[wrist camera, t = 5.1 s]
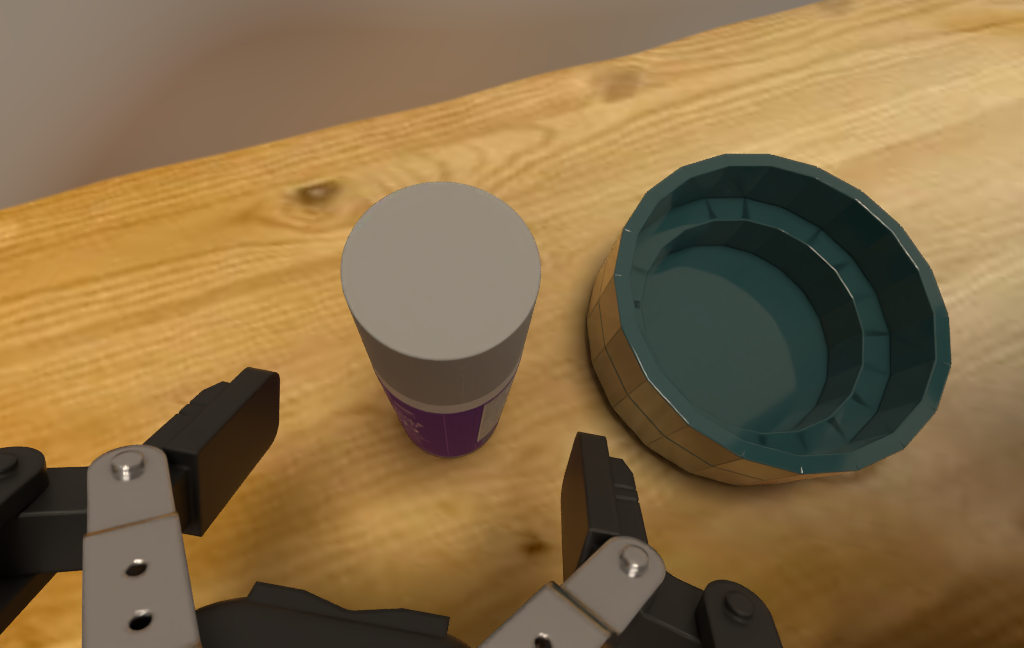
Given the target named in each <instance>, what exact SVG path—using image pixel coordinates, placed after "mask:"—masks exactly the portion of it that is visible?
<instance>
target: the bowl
mask: <svg viewBox="0 0 1024 648" xmlns="http://www.w3.org/2000/svg"><path fill="white" fill-rule="evenodd" d="M587 327H588V335H589V343H590V351H591V359H592V363H593V364H592V365H593V367H594V370H595V372H596V374H597V376H598V378H599V381H600V383H601V385H602V387H603V389H604V391H605V394H606V396H607V398H608V400H609V402H610V404H611V406H612V407H613V409H614V410H615V411H616V412H617V414H618V415H619V416H620V417H621V418H622V419H623V420H624V422H625V423H626V424H627V425H628V426H629V427H630V428H631V429H632V431H633V432H634V433H635V434H636V435H637V436H638V437H639V439H640V440H641V441H642V442H643V443H644V444H645V445H646V446H647V447H649V448H650V449H652V450H653V451H655V452H657V453H658V454H660V455H661V456H663V457H664V458H666V459H668V460H669V461H671V462H672V463H674V464H676V465H677V466H679V467H680V468H682V469H684V470H685V471H687V472H690V473H691V474H695V475H699V476H703V477H706V478H710V479H714V480H718V481H721V482H725V483H729V484H732V485H739V486H742V485H757V484H772V483H784V482H790V481H797V480H803V479H810V478H816V477H823V476H829V475H835V474H842V473H848V472H854V471H859V470H861V469H863V468H865V467H867V466H870V465H872V464H874V463H876V462H878V461H880V460H882V459H884V458H886V457H889V456H891V455H893V454H895V453H897V452H899V451H901V450H903V449H904V448H905V447H906V446H907V445H908V444H909V443H910V442H911V440H912V439H913V438H914V437H915V436H916V435H917V434H918V432H919V431H920V430H921V429H922V428H923V427H924V425H925V424H926V423H927V422H928V421H929V420H930V419H931V417H932V416H933V415H934V414H935V413H936V411H937V409H938V406H939V403H940V400H941V396H942V393H943V390H944V387H945V384H946V381H947V378H948V374H949V371H950V368H951V346H950V327H949V317H948V312H947V309H946V307H945V304H944V301H943V298H942V296H941V293H940V290H939V288H938V285H937V282H936V279H935V277H934V274H933V271H932V269H931V268H930V266H929V264H928V263H927V262H926V260H925V259H924V257H923V256H922V254H921V253H920V252H919V250H918V249H917V247H916V246H915V244H914V243H913V242H912V240H911V239H910V237H909V236H908V235H907V233H906V232H905V230H904V229H903V227H901V226H900V224H899V223H898V222H897V221H896V220H894V219H893V218H892V217H891V216H890V215H889V214H888V213H886V212H885V211H884V210H883V209H882V208H881V207H880V206H879V205H877V204H876V203H875V202H874V201H873V200H872V199H871V198H869V197H868V196H867V195H866V194H865V193H864V192H861V190H859V189H857V188H856V187H854V186H852V185H850V184H848V183H846V182H845V181H843V180H841V179H839V178H837V177H835V176H833V175H832V174H830V173H828V172H826V171H824V170H822V169H821V168H817V167H816V166H813V165H809V164H805V163H802V162H798V161H794V160H790V159H787V158H783V157H779V156H775V155H770V154H722V155H719V156H716V157H712V158H709V159H706V160H703V161H699V162H696V163H693V164H689V165H686V166H683V167H680V168H679V169H678V170H676V171H675V172H673V173H672V174H671V175H669V176H668V177H667V178H665V179H664V180H662V181H661V182H660V183H658V184H657V185H656V186H654V187H653V188H651V189H650V190H649V191H647V193H646V194H645V195H644V197H643V198H642V200H641V201H640V203H639V204H638V206H637V208H636V209H635V211H634V212H633V214H632V215H631V217H630V218H629V220H628V222H627V223H626V225H625V226H624V228H623V230H622V231H621V233H620V235H619V237H618V239H617V241H616V243H615V244H614V246H613V248H612V250H611V252H610V254H609V256H608V257H607V259H606V261H605V263H604V265H603V266H602V268H601V270H600V272H599V274H598V276H597V278H596V280H595V283H594V287H593V292H592V297H591V301H590V306H589V311H588V315H587Z"/></svg>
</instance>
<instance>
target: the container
mask: <svg viewBox="0 0 1024 648" xmlns="http://www.w3.org/2000/svg"><path fill="white" fill-rule="evenodd" d="M540 279H541V264H540V257H539V252H538V248H537V245H536V242H535V240H534V238H533V235H532V234H531V232H530V230H529V228H528V227H527V225H526V224H525V222H524V221H523V220H522V218H521V217H520V216H519V215H518V214H517V213H516V212H515V211H514V210H513V209H512V208H511V207H510V206H509V205H507V204H506V203H505V202H503V201H502V200H500V199H499V198H497V197H496V196H494V195H492V194H490V193H488V192H486V191H484V190H481V189H479V188H476V187H473V186H469V185H465V184H460V183H453V182H428V183H421V184H416V185H412V186H409V187H406V188H402V189H400V190H398V191H395V192H393V193H391V194H389V195H388V196H386V197H384V198H382V199H381V200H380V201H378V202H377V203H375V204H374V205H373V206H372V207H371V208H369V209H368V210H367V211H366V212H365V213H364V214H363V216H362V217H361V218H360V219H359V221H358V222H357V223H356V225H355V226H354V228H353V229H352V231H351V233H350V235H349V237H348V239H347V241H346V244H345V247H344V250H343V254H342V260H341V283H342V288H343V292H344V296H345V299H346V301H347V304H348V307H349V309H350V311H351V314H352V316H353V319H354V321H355V324H356V326H357V329H358V331H359V334H360V336H361V338H362V341H363V343H364V346H365V348H366V351H367V353H368V356H369V358H370V361H371V363H372V366H373V369H374V371H375V373H376V375H377V377H378V379H379V381H380V383H381V385H382V387H383V389H384V391H385V392H386V394H387V396H388V398H389V400H390V402H391V404H392V406H393V408H394V410H395V412H396V414H397V416H398V418H399V420H400V421H401V423H402V425H403V427H404V429H405V431H406V433H407V434H408V436H409V437H410V439H411V440H412V441H413V442H414V443H415V444H416V445H417V446H418V447H419V448H420V449H422V450H423V451H425V452H427V453H429V454H431V455H434V456H438V457H443V458H456V457H461V456H465V455H467V454H470V453H472V452H474V451H476V450H477V449H479V448H480V447H481V446H483V445H484V444H485V443H486V442H487V441H488V439H489V438H490V437H491V435H492V434H493V432H494V430H495V428H496V426H497V424H498V421H499V418H500V415H501V413H502V410H503V407H504V404H505V402H506V399H507V396H508V393H509V391H510V388H511V385H512V382H513V380H514V377H515V374H516V371H517V369H518V366H519V363H520V360H521V356H522V351H523V348H524V344H525V340H526V336H527V333H528V329H529V325H530V321H531V318H532V314H533V310H534V306H535V303H536V299H537V295H538V291H539V286H540Z"/></svg>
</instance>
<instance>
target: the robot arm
mask: <svg viewBox="0 0 1024 648" xmlns="http://www.w3.org/2000/svg"><path fill="white" fill-rule="evenodd" d="M279 400H280V377H279V374H278V373H277V372H272V371H267V370H262V369H256V368H251V367H247V368H245V369H244V370H243V371H242V372H241V373H240V374H239V375H238V376H237V377H236V378H235V379H234V380H233V381H232V382H231V383H228V382H223V381H222V382H220V383H218V384H216V385H213V386H211V387H209V388H207V389H204V390H203V391H202V392H200V393H199V394H198V395H197V396H196V397H195V398H194V399H193V400H191V401H190V404H187V405H186V406H185V407H184V408H183V409H181V410H180V412H179V414H176V415H175V416H174V417H172V418H171V419H170V420H169V421H168V422H167V423H166V424H165V425H164V426H162V427H161V428H160V429H159V430H158V431H157V432H156V433H155V434H153V435H152V436H151V437H150V438H149V439H148V440H147V441H146V442H144V443H143V444H142V445H130V446H124V447H120V448H116V449H113V450H111V451H108V452H106V453H104V454H102V455H101V456H99V457H98V458H96V459H95V460H94V461H93V462H92V463H91V465H90V466H88V467H63V468H47V467H46V462H45V458H44V455H43V454H42V453H41V452H40V451H38V450H36V449H33V448H29V447H5V448H0V634H1V633H2V632H3V631H4V630H5V629H6V628H7V627H8V626H9V625H10V623H11V622H12V621H13V620H14V619H15V618H16V617H17V616H18V615H19V614H20V613H21V611H22V610H23V609H24V608H25V607H26V606H27V605H28V604H29V603H30V602H31V600H32V599H33V598H34V597H35V596H36V595H37V594H38V593H39V592H40V591H41V589H42V588H43V587H44V586H45V585H46V584H47V583H48V582H49V581H50V580H51V579H52V577H53V576H54V575H55V574H56V573H57V572H67V571H79V570H83V582H82V648H471V647H470V646H468V645H467V644H466V643H464V642H463V641H461V640H460V639H458V638H456V637H454V636H452V635H450V634H448V633H447V631H448V626H449V620H450V617H447V616H442V615H436V614H431V613H425V612H420V611H415V610H409V609H404V608H399V609H378V610H358V611H351V610H347V609H344V608H342V607H340V606H338V605H335V604H333V603H331V602H329V601H327V600H325V599H322V598H320V597H318V596H316V595H314V594H312V593H309V592H307V591H305V590H301V589H295V588H290V587H285V586H279V585H274V584H268V583H263V582H258V581H256V583H255V585H254V586H253V588H252V590H251V591H250V593H249V595H248V597H243V598H235V599H229V600H224V601H220V602H216V603H213V604H210V605H207V606H204V607H202V608H199V609H197V610H195V607H194V601H193V595H192V589H191V583H190V578H189V572H188V566H187V560H186V554H185V549H184V543H183V537H182V533H183V534H188V535H194V536H199V537H202V535H203V534H204V533H205V532H206V530H207V529H208V528H209V526H210V525H211V524H212V522H213V521H214V520H215V518H216V517H217V516H218V514H219V513H220V512H221V511H222V509H223V508H224V507H225V505H226V504H227V503H228V501H229V500H230V499H231V497H232V496H233V495H234V493H235V492H236V491H237V489H238V488H239V487H240V486H241V484H242V483H243V482H244V480H245V479H246V478H247V476H248V475H249V474H250V472H251V471H252V470H253V468H254V467H255V466H256V464H257V463H258V462H259V461H260V459H261V458H262V457H263V455H264V454H265V453H266V451H267V450H268V449H269V447H270V446H271V445H272V443H273V441H274V439H275V437H276V434H277V430H278V426H279ZM638 500H639V499H638V495H637V491H636V486H635V481H634V477H633V473H632V472H631V470H630V469H629V468H628V466H627V465H626V464H625V462H624V461H623V460H622V459H619V458H613V457H609V452H608V446H607V440H606V437H604V436H599V435H594V434H589V433H583V432H578V433H577V434H576V437H575V440H574V444H573V447H572V451H571V454H570V458H569V461H568V465H567V468H566V472H565V475H564V479H563V484H562V491H561V524H562V555H563V584H561V585H560V586H559V585H558V584H556V583H555V582H554V581H551V582H549V583H547V584H546V585H544V586H543V587H542V588H541V589H540V590H539V591H538V592H537V593H536V594H534V595H533V596H532V597H531V598H530V599H529V600H528V601H527V602H526V603H525V604H524V605H523V606H521V607H520V608H519V609H518V610H517V611H516V612H515V613H514V614H513V615H512V616H511V617H510V618H508V619H507V620H506V621H505V622H504V623H503V624H502V625H501V626H500V627H499V628H498V629H497V630H495V631H494V632H493V633H492V634H491V635H490V636H489V637H488V638H487V639H486V640H485V641H484V642H482V643H481V644H480V645H479V646H478V647H477V648H783V646H782V643H781V641H780V638H779V635H778V632H777V629H776V627H775V624H774V621H773V618H772V616H771V613H770V611H769V610H768V608H767V606H766V605H765V604H764V602H763V601H762V600H761V599H760V598H759V597H758V596H757V595H756V594H754V593H753V592H752V591H750V590H749V589H747V588H746V587H744V586H742V585H740V584H738V583H735V582H732V581H728V580H715V581H713V582H711V583H709V584H708V585H707V586H706V588H705V590H704V591H703V590H701V589H699V588H697V587H694V586H692V585H690V584H688V583H686V582H684V581H681V580H679V579H678V578H676V577H674V576H672V575H671V574H669V573H668V572H667V571H666V569H665V564H664V562H663V560H662V558H661V557H660V555H659V554H658V553H657V552H656V551H655V550H654V549H653V548H652V547H651V546H650V545H648V541H647V536H646V531H645V527H644V522H643V518H642V513H641V509H640V504H639V503H638Z"/></svg>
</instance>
